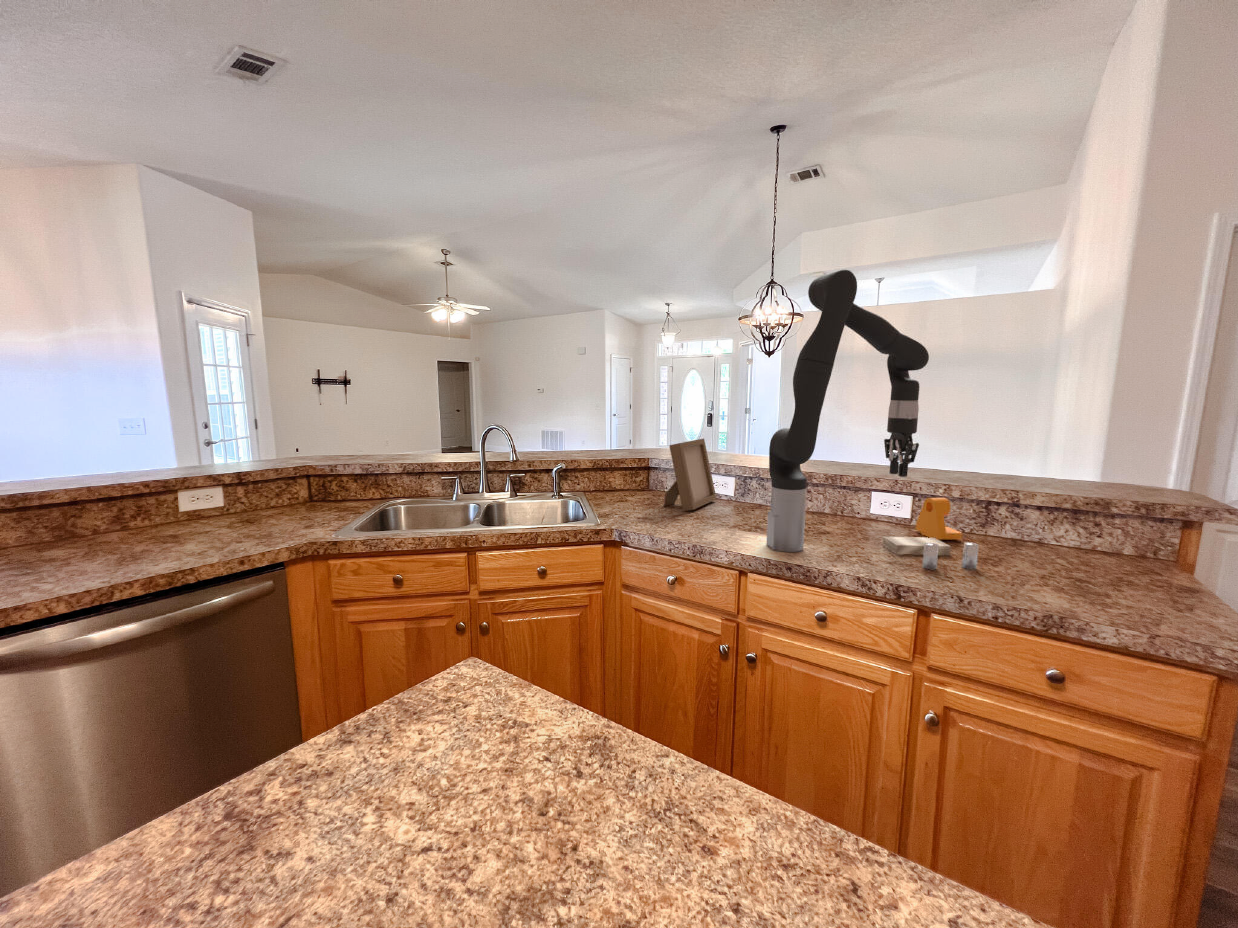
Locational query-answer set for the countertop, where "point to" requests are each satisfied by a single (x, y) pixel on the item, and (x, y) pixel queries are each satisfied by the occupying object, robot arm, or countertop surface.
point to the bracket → (936, 520)
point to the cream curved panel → (914, 545)
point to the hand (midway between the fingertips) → (898, 474)
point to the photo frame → (691, 475)
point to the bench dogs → (967, 562)
